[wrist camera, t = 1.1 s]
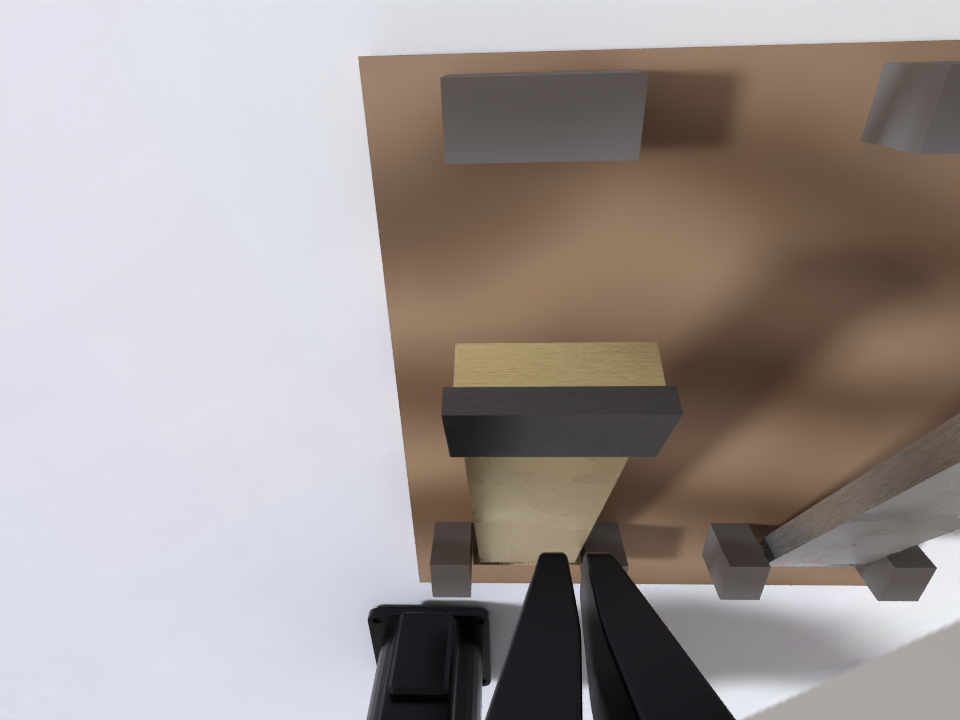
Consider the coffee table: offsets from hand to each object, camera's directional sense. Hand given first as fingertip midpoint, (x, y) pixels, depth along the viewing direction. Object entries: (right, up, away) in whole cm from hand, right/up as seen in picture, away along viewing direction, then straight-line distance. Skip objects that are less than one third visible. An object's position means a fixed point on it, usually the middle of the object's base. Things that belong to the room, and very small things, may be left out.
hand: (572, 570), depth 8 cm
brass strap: (0, -1, +9) cm, 9 cm away
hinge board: (+6, +3, +13) cm, 15 cm away
